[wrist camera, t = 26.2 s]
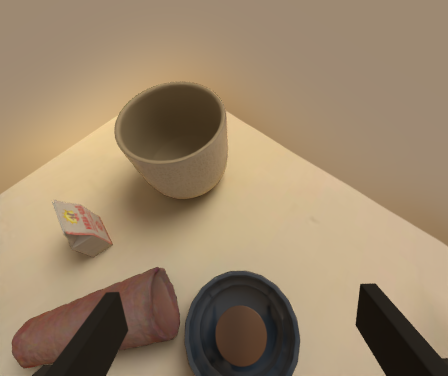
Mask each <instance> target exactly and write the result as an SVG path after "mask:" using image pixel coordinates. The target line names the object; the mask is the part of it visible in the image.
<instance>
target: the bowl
mask: <svg viewBox="0 0 448 376" xmlns="http://www.w3.org/2000/svg"><path fill="white" fill-rule="evenodd" d="M239 305H240V306H247V307H249V308H251V309H253V310H254V311H256V312H257V313H258V314H259V315H260V317H261V318H262V320H263V322H264V324H265V327H266V332H267V343H266V347H265V350H264V352H263V354H262V356H261V357H260V358H259V360H258V361H256V362H255V363H254V364H252V365H249V366H245V367H239V366H235V365H233V364H231V363H229V362H228V361H227V360H226V359H225V358H224V357H223V356H222V355H221V353H220V351H219V349H218V347H217V343H216V336H215V334H216V326H217V323H218V321H219V319H220V317H221V315H222V314H223V313H224V312H225V311H226V310H227V309H229V308H231V307H234V306H239ZM185 347H186V352H187V357H188V361H189V365H190V367H191V369H192V370H193V372H194V374H195V376H292V375H293V372H294V370H295V368H296V365H297V362H298V356H299V347H300V335H299V329H298V322H297V318H296V316H295V313H294V311H293V309H292V307H291V304H290V302H289V300H288V299H287V298H286V296H285V295H284V294H283V293H282V291H281V290H280V289H279V288H278V287H277V286H276V285H275V284H274V283H272V282H271V281H269V280H268V279H266V278H265V277H264V276H262V275H259V274H255V273H252V272H249V271H229V272H227V273H224V274H222V275H219V276H216V277H214V278H213V279H212V280H211V281H210V282H208V283H207V284H206V285H205V286H203V287H202V288H201V290H200V291H199V293H198V294H197V296H196V297H195V299H194V300H193V302H192V304H191V307H190V310H189V313H188V316H187V319H186V323H185Z"/></svg>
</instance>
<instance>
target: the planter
mask: <svg viewBox="0 0 448 376" xmlns="http://www.w3.org/2000/svg"><path fill="white" fill-rule="evenodd" d="M115 139H116V142H117V144H118V146H119V147H120V149H121V150H122V152H123V153H124V154H125V156H126V157H127V158H128V159H129V160H130V162H131V163H132V164H133V165H134V167H135V168H136V169H137V170H138V171H139V173H140V174H141V175H142V176H143V177H144V179H145V180H146V181H147V182H148V183H149V184H150V185H151V186H152V187H154V188H155V189H156V190H157V191H159V192H160V193H162V194H164V195H166V196H169V197H172V198H178V199H189V198H194V197H197V196H200V195H203V194H205V193H206V192H208V191H210V190H211V189H212V188H213V187H214V186H215V185H216V184H217V183H218V182H219V181H220V179H221V178H222V176H223V174H224V172H225V169H226V165H227V158H228V139H227V119H226V111H225V107H224V104H223V102H222V100H221V99H220V97H219V96H218V95H217V94H216V93H215V92H213V91H212V90H211V89H209V88H207V87H205V86H203V85H200V84H196V83H191V82H170V83H164V84H160V85H157V86H154V87H151V88H149V89H147V90H145V91H143V92H141V93H140V94H138V95H136V96H135V97H134V98H132V99H131V100H130V101H129V102H128V103H127V104H126V105H125V106H124V108H123V109H122V110H121V112H120V113H119V115H118V117H117V120H116V123H115Z"/></svg>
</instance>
